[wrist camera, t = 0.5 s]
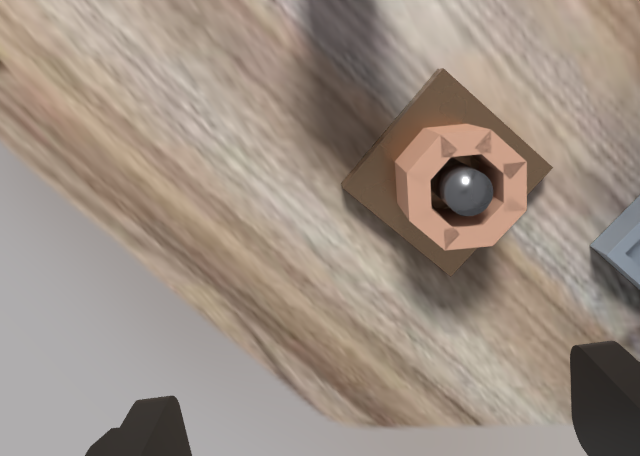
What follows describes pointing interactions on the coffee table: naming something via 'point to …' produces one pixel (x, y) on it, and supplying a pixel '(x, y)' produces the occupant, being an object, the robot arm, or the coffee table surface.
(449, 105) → the brown square stand
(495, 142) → the ring
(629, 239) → the tray
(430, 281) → the coffee table surface
